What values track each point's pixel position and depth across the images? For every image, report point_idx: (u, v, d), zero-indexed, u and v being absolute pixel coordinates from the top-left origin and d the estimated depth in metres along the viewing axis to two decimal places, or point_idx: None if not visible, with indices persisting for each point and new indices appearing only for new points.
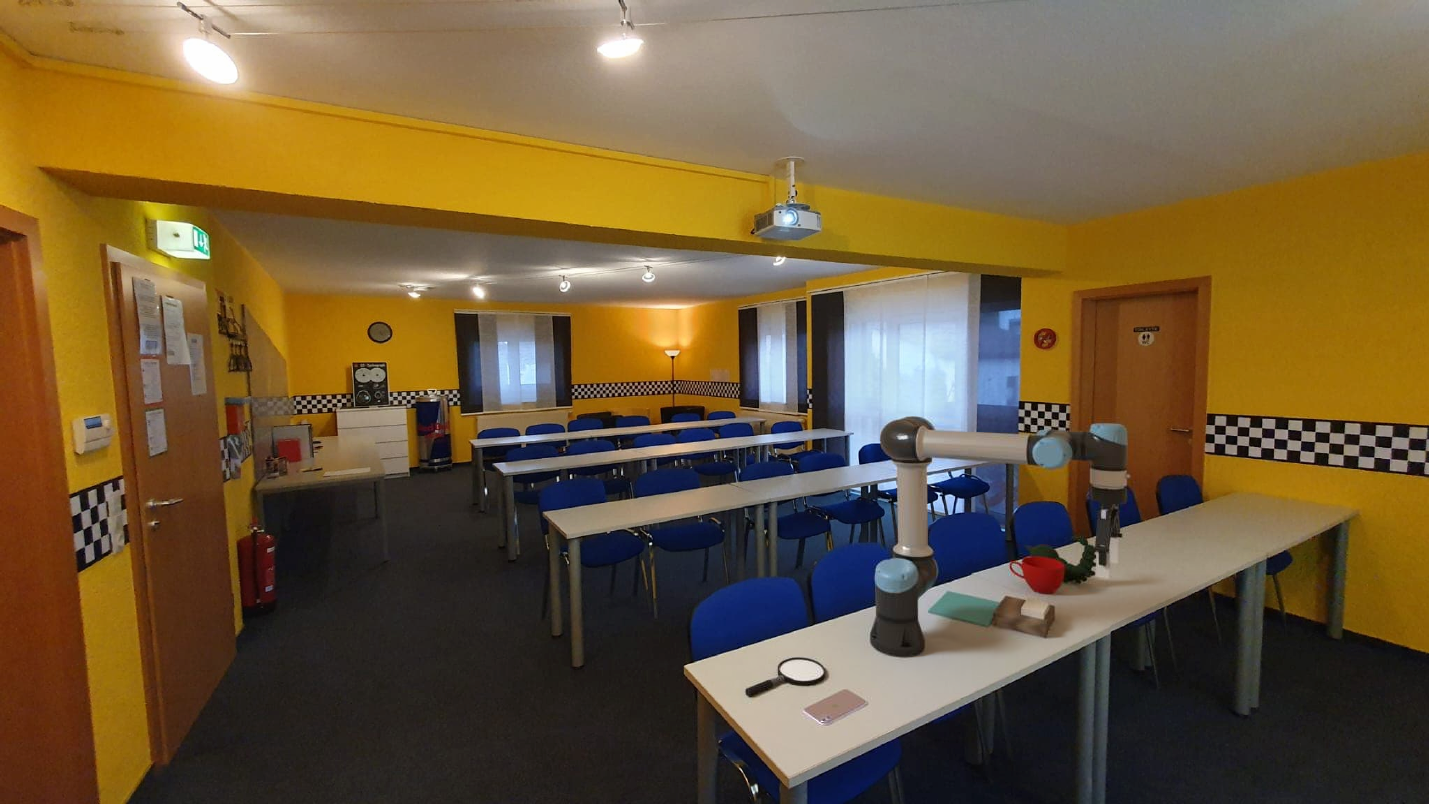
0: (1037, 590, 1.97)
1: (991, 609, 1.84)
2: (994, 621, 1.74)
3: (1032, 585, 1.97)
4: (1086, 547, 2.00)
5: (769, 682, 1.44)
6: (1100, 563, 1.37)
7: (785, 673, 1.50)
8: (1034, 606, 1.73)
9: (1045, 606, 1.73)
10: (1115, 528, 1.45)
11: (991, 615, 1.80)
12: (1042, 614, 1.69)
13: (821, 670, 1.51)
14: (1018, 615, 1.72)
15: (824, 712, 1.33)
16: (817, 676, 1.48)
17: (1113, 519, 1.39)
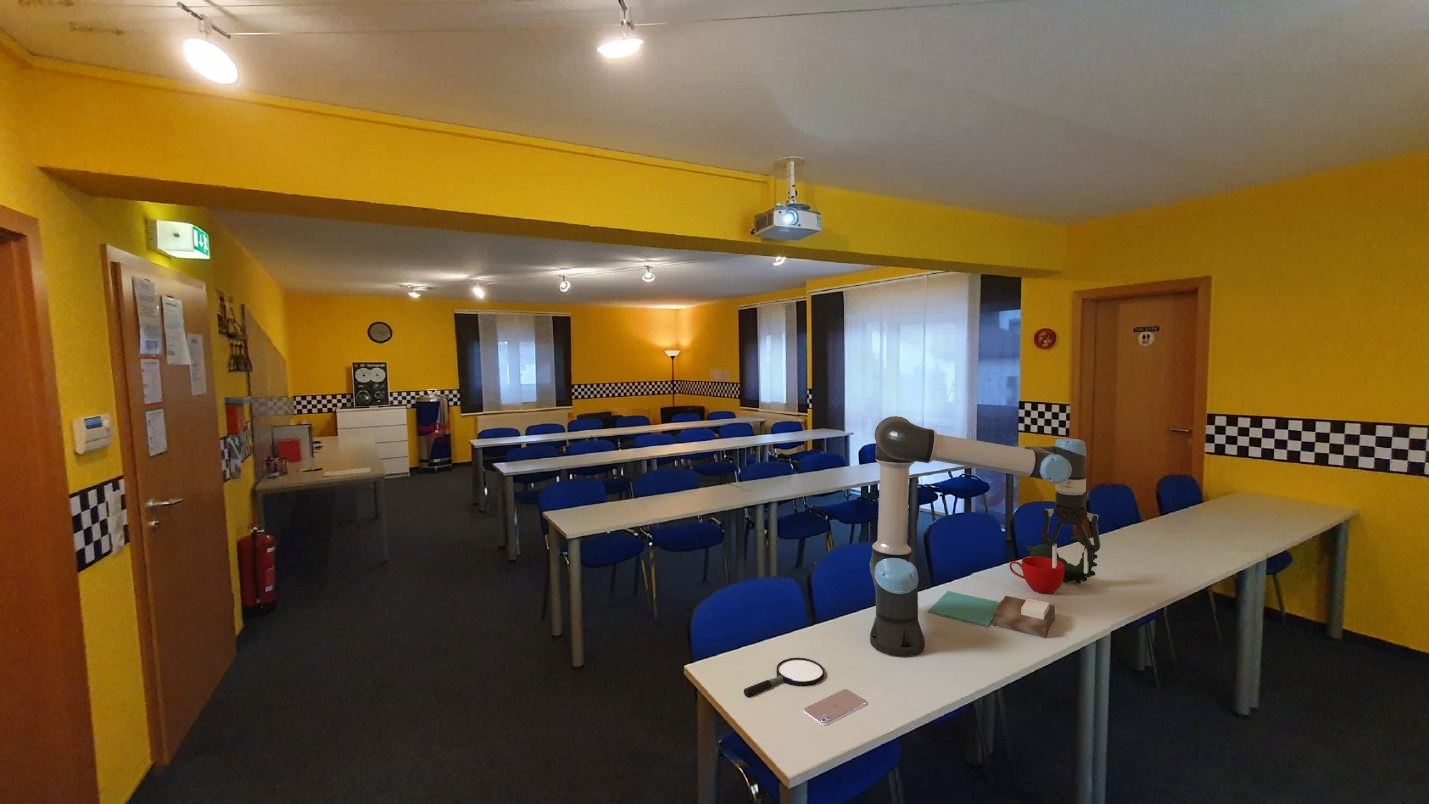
0: (1037, 590, 1.97)
1: (991, 609, 1.84)
2: (994, 621, 1.74)
3: (1032, 585, 1.97)
4: None
5: (768, 682, 1.44)
6: None
7: (784, 673, 1.50)
8: (1034, 606, 1.73)
9: (1045, 606, 1.73)
10: (1082, 537, 1.64)
11: (991, 615, 1.80)
12: (1042, 614, 1.69)
13: (820, 670, 1.51)
14: (1018, 615, 1.72)
15: (823, 712, 1.33)
16: (816, 676, 1.48)
17: (1059, 519, 1.67)
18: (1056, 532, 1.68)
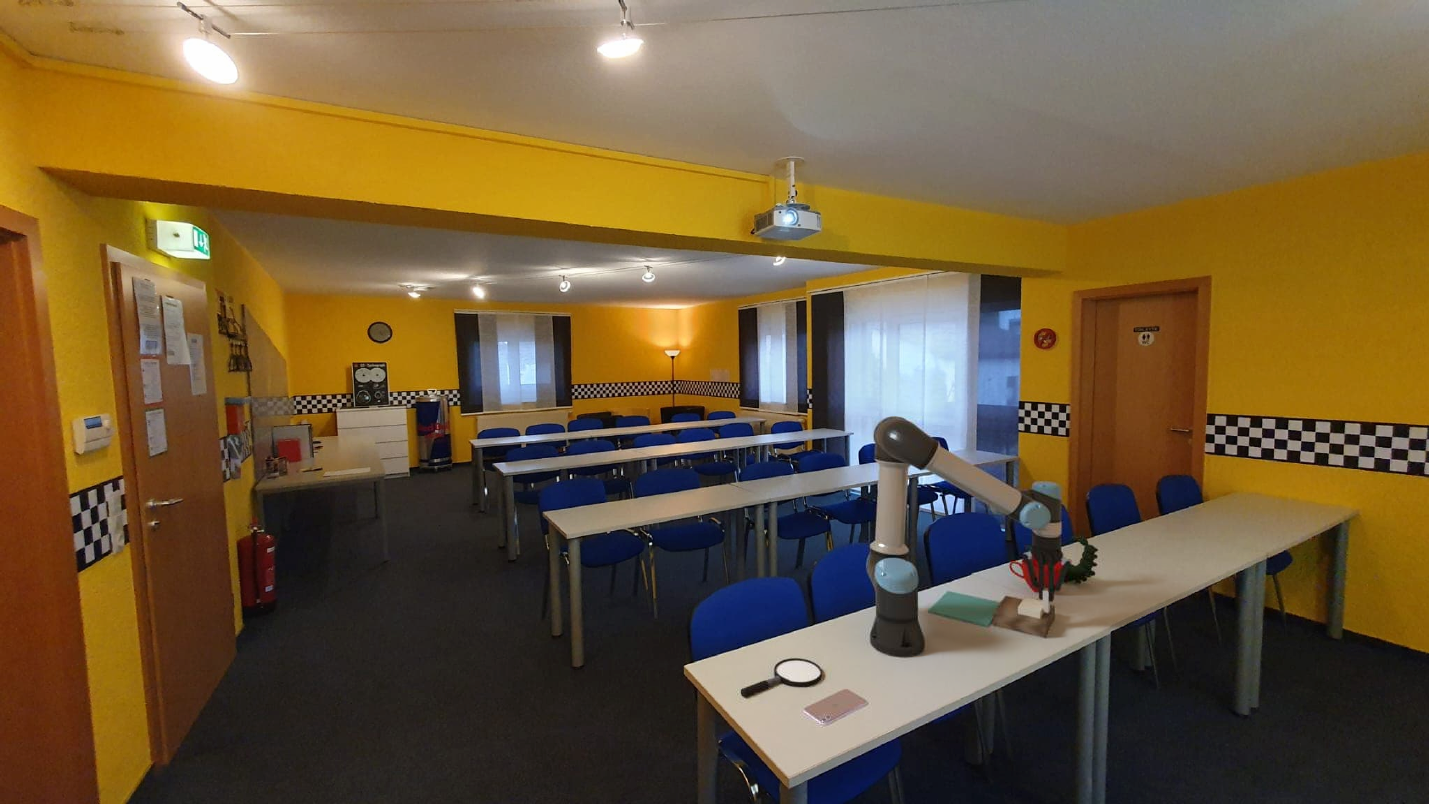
0: (1037, 590, 1.97)
1: (991, 609, 1.84)
2: (994, 621, 1.74)
3: None
4: (1086, 547, 2.00)
5: (765, 683, 1.44)
6: None
7: (781, 674, 1.49)
8: (1031, 605, 1.74)
9: (1042, 605, 1.73)
10: (1048, 577, 1.70)
11: (991, 615, 1.80)
12: (1038, 613, 1.69)
13: (818, 671, 1.50)
14: (1018, 615, 1.72)
15: (823, 711, 1.33)
16: (813, 677, 1.48)
17: (1038, 561, 1.71)
18: (1041, 575, 1.71)
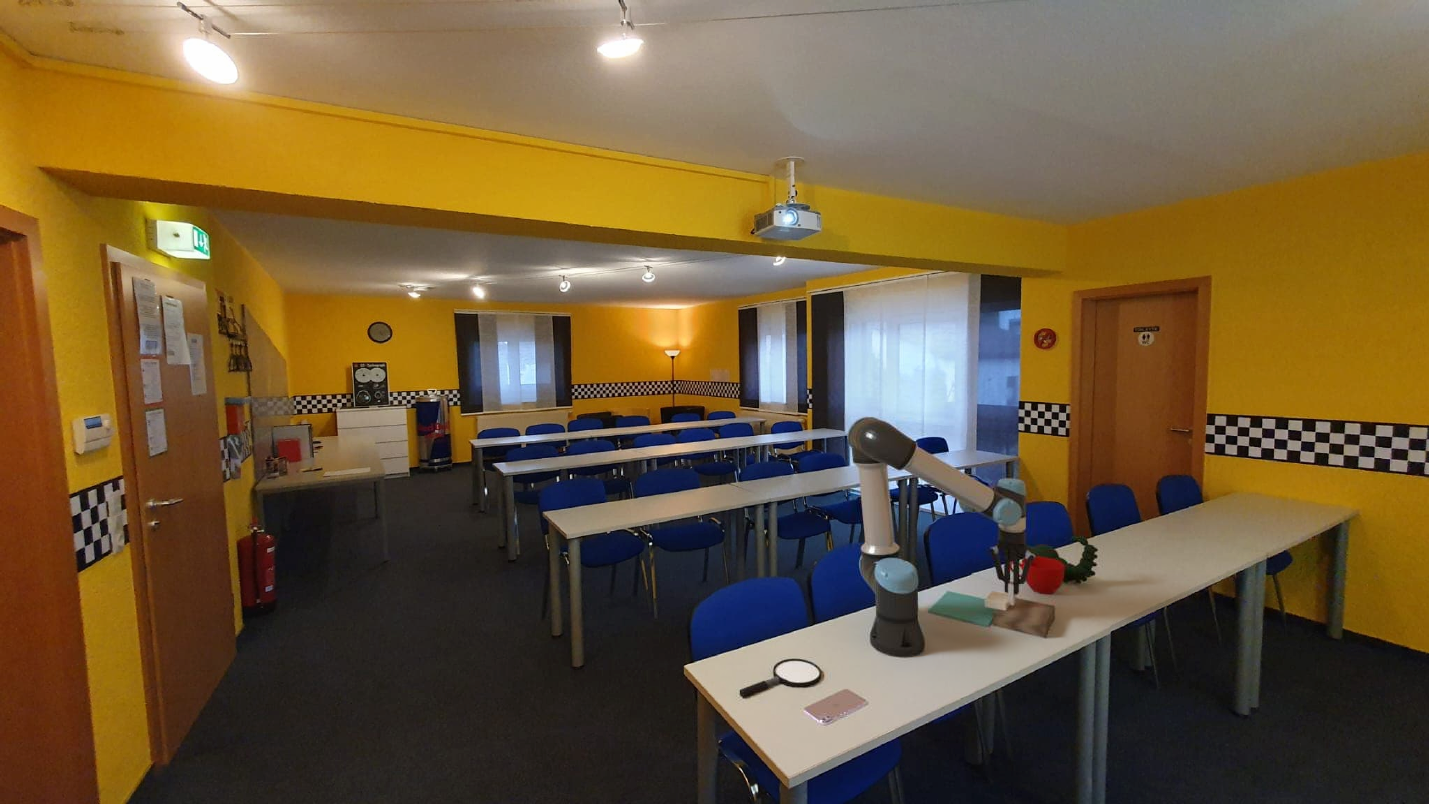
0: (1037, 590, 1.97)
1: (991, 609, 1.84)
2: (994, 621, 1.74)
3: (1032, 585, 1.97)
4: (1086, 547, 2.00)
5: (764, 683, 1.44)
6: None
7: (780, 674, 1.49)
8: (997, 598, 1.80)
9: None
10: None
11: (991, 615, 1.80)
12: (1004, 605, 1.75)
13: (817, 672, 1.50)
14: (1018, 615, 1.72)
15: (823, 711, 1.33)
16: (812, 678, 1.47)
17: None
18: (1006, 569, 1.77)
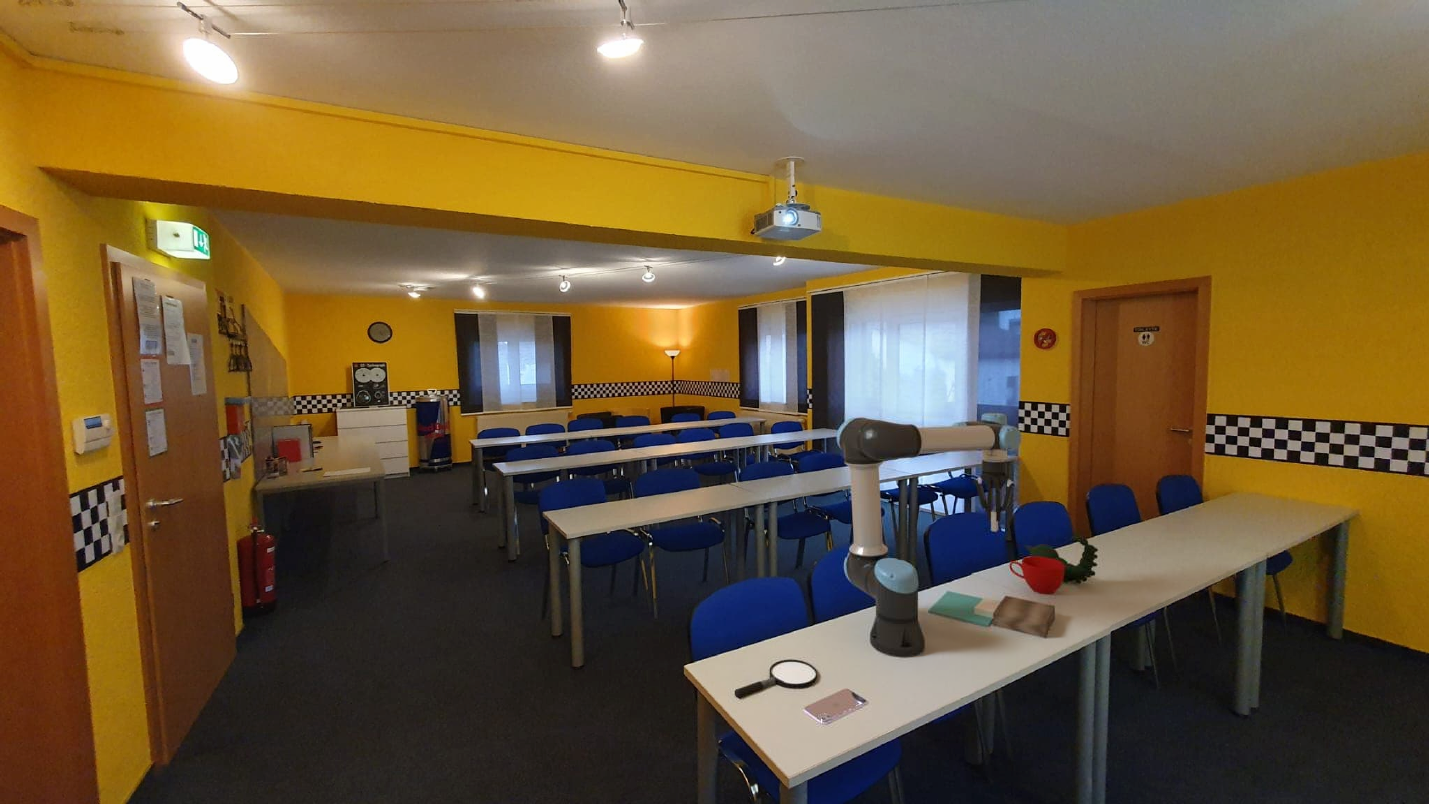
0: (1037, 590, 1.97)
1: None
2: (994, 621, 1.74)
3: (1032, 585, 1.97)
4: (1086, 547, 2.00)
5: (759, 684, 1.44)
6: None
7: (777, 675, 1.49)
8: (987, 606, 1.82)
9: None
10: None
11: None
12: None
13: (813, 673, 1.50)
14: (1018, 615, 1.72)
15: (823, 711, 1.34)
16: (809, 679, 1.47)
17: None
18: (989, 497, 1.89)
